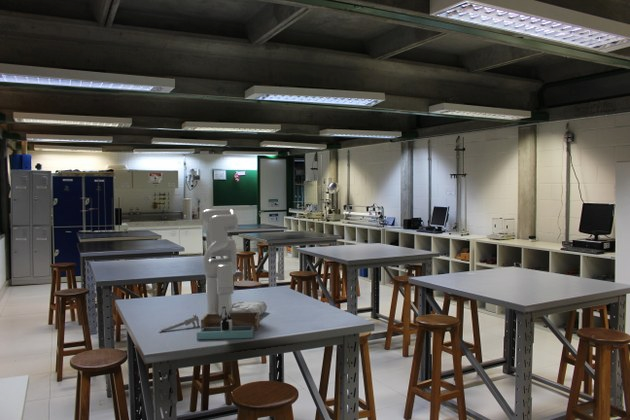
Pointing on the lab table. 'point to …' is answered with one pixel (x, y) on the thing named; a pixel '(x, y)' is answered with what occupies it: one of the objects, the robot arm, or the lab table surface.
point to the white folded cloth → (249, 307)
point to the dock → (235, 317)
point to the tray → (226, 332)
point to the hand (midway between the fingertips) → (226, 327)
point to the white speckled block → (229, 326)
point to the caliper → (183, 323)
